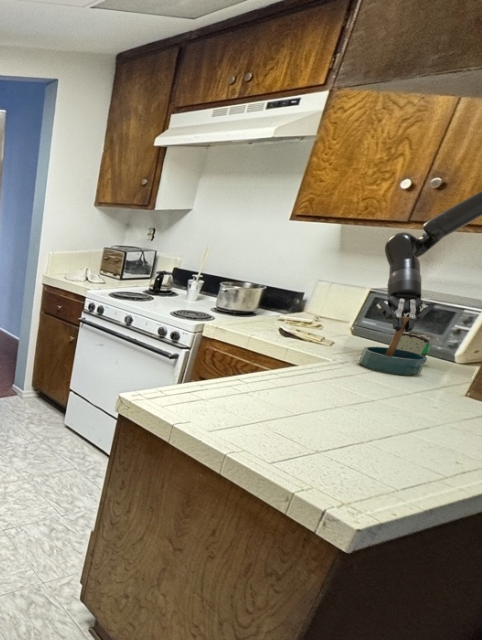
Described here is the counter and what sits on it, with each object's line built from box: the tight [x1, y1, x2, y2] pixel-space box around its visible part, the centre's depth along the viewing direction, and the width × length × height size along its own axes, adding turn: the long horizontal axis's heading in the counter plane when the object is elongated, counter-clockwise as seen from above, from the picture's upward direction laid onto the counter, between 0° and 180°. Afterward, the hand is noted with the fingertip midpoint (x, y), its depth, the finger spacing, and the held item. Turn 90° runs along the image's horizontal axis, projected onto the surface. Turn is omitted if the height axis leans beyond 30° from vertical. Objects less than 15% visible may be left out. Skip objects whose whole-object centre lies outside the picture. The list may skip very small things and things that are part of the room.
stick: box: [385, 316, 409, 357], centre depth 151 cm, size 4×4×15 cm
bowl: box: [358, 346, 428, 376], centre depth 153 cm, size 15×15×6 cm
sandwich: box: [392, 330, 438, 357], centre depth 160 cm, size 12×6×10 cm, turn 179°
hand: (403, 330), depth 148 cm, fingers closed on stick, 2 cm apart
